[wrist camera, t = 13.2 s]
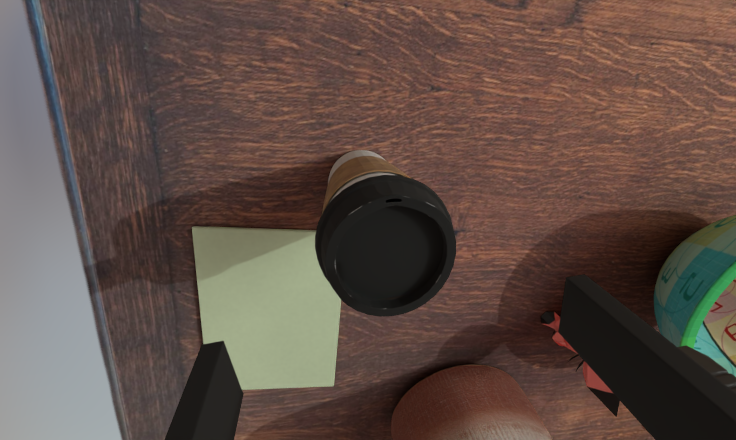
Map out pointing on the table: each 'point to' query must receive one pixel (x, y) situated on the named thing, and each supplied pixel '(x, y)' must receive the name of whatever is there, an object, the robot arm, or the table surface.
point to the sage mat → (267, 305)
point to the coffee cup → (382, 237)
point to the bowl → (701, 293)
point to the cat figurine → (590, 376)
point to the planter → (467, 408)
